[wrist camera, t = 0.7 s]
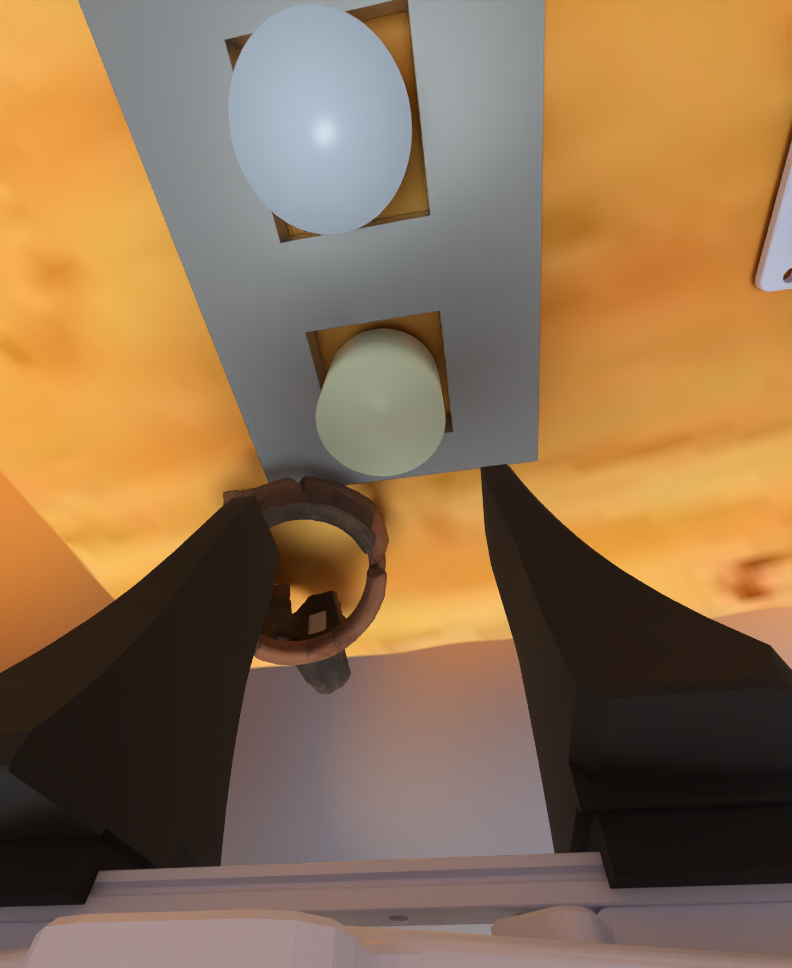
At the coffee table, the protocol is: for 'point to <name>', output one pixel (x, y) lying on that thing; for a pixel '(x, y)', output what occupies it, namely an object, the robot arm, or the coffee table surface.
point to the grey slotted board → (369, 249)
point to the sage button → (381, 404)
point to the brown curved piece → (319, 621)
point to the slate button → (320, 119)
